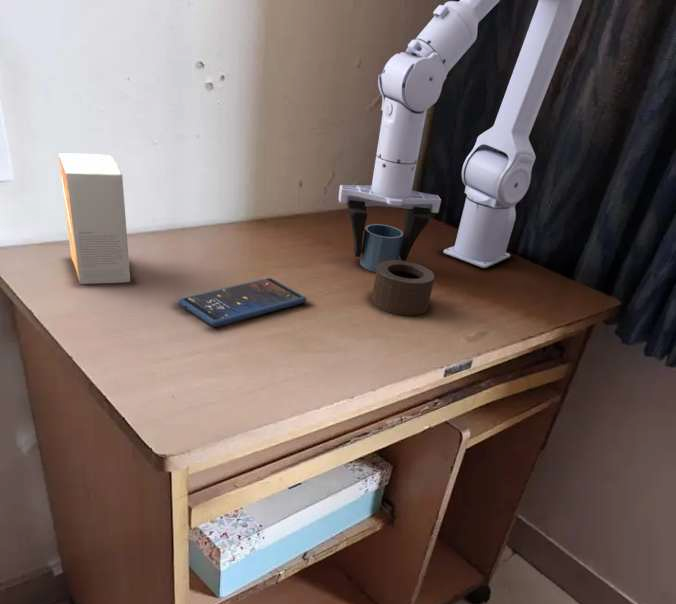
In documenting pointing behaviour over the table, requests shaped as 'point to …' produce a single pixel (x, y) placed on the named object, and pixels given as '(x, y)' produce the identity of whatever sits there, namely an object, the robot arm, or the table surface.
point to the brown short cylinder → (402, 287)
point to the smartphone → (241, 301)
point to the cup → (380, 245)
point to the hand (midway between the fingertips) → (379, 256)
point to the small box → (95, 217)
